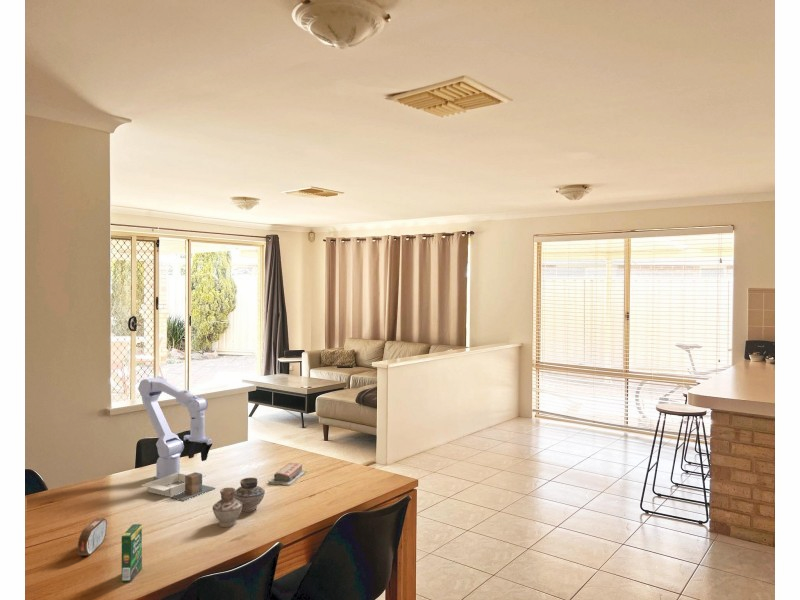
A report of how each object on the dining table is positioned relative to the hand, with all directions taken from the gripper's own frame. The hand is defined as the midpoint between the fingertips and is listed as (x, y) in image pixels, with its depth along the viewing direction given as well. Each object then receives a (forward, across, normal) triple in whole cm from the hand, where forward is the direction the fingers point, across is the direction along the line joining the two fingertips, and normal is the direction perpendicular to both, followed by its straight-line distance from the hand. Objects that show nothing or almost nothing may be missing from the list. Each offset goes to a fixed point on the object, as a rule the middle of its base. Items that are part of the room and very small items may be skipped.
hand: (197, 459), depth 242 cm
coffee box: (+10, +47, -66) cm, 82 cm away
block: (+9, +10, -11) cm, 17 cm away
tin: (+10, +22, -61) cm, 66 cm away
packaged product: (+10, +30, +22) cm, 39 cm away
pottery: (+10, +42, -19) cm, 47 cm away
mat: (+9, +10, -11) cm, 18 cm away
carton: (+9, -1, -11) cm, 15 cm away
